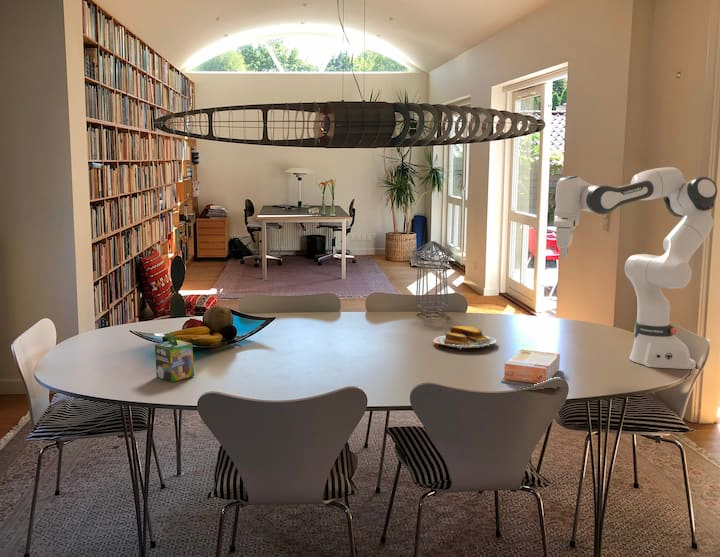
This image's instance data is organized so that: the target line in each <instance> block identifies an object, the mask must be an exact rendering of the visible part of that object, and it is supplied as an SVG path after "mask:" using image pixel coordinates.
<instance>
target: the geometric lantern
mask: <svg viewBox="0 0 720 557" xmlns="http://www.w3.org/2000/svg"><path fill="white" fill-rule="evenodd" d="M434 249H435V250H434ZM419 250H420V251H419ZM429 250H430V252H429ZM439 252H441V254H440V253H439ZM411 253H412V254H413V256H414V259H416V261H417V264H419V262H420V267H417V277H416V296H415V305H416V306H417V307H418V308H419V309H420V310H421V311H420V312H421V314H422V315H423V316H425V317H430V318H431V317H433V315H431V313H437V315H434V317H443V316H444V311H445V309H447V308H448V307H449V294H448V293H449V292H448V280H447V279H448V276H447V271H448V269H447V268H446V267H445V266H444V265H443V264H444V263H446V262H447V261H448V260H449V257H450V256H451V255H454V253H453V252H452V251H450V250H449V249H447V248H446V247H444V246H443V245H441V244H440V243H438V242H437V241H435V240H431V241H428V242H427V243H425V244H423V245H422V246H420V247H418V248H417V249H415V250H413V251H412V252H411ZM435 256H438V257H439V259H438V260H435ZM422 258H423V261H422V260H421V259H422ZM432 258H433V259H432ZM426 260H430V261H431V263H430V264H429V265H428V267H426V268H425V267H424V263H425V261H426ZM436 262H439V263H440V267H438V266H437V265H436V264H435V263H436ZM432 264H433V265H434V266H432V267H431V265H432ZM428 269H434V270H429V272H435V299H434V300H435V301H429V290H428V289H429V288H428V287H429V285H428V279H429V278H428ZM438 272H439V291H440V292H439V293H440V298H439V299H440V301H437V297H438V296H437V295H438ZM441 272H442V274H443V275H442V278H443V280H442V278H441ZM425 274H426V278H425ZM421 278H422V279H421ZM425 279H426V302H424V293H425V292H424V290H425V289H424V287H425ZM421 280H422V289H421ZM442 281H443V294H444V302H443V300H442V299H443V298H442ZM421 290H422V292H421ZM420 294H422V295H421V302H420ZM424 304H426V306H424ZM429 304H435V305H434V306H429ZM437 304H439V305H438V306H437ZM441 305H442V306H441ZM443 305H444V306H443ZM441 308H443V309H441ZM430 310H432V311H430Z"/></svg>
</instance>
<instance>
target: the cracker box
mask: <svg viewBox="0 0 720 557" xmlns="http://www.w3.org/2000/svg"><path fill="white" fill-rule="evenodd" d="M560 357H561V354H560V353H553V352H545V351H535V350H529V349H527V350H526V349H520V350H519V351H517V353H515V354H514V355H513V356H512V357H510V359H508V360H507V361H506V362H505V363H504V371H503V372H504V374H503V378H504V379H506V380H514V381H522V382H529V383H536V384H537V383H541V382H543V381H546V380H548V379H550V378H552V377H553V376H554V375H555V373H556V372H557V371H560V361H561V358H560Z"/></svg>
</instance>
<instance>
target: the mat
mask: <svg viewBox="0 0 720 557" xmlns="http://www.w3.org/2000/svg"><path fill="white" fill-rule="evenodd" d="M564 372H565V371H564V370H558V371H557V372H556V373H555V375H554V376H553V377H552V378H554V377H560V378H561V379H562V378H563V375H564ZM502 383H503V384H512V385H517V386H519V385H520V386H527V387H531V386H530V385H534V384H536V383H529V382H522V381H514V380H506V379H504V377H502V379H501V384H502Z"/></svg>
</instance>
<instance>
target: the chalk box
mask: <svg viewBox="0 0 720 557" xmlns="http://www.w3.org/2000/svg"><path fill="white" fill-rule="evenodd" d="M166 337H167V341H164V342H160V343H155V345H154V352H155V354H154V355H155V368H156V369H155V370H156V372H155V373H156V378H158V379H161V380H163V381H167V382H169V383H174V382H178V381H181V380H186V379H189V378H193V377H195V369H194V353H193V351H194V349H193V343H192V342H187V341H185V340H180V339H179V340H178V339H177V338H176V335H174V334H171V333H166ZM172 339H173V340H172Z"/></svg>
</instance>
